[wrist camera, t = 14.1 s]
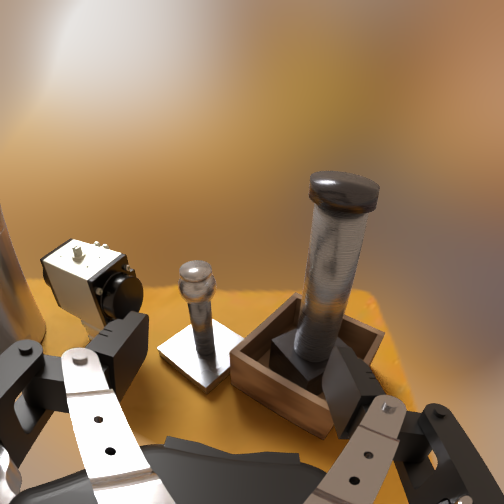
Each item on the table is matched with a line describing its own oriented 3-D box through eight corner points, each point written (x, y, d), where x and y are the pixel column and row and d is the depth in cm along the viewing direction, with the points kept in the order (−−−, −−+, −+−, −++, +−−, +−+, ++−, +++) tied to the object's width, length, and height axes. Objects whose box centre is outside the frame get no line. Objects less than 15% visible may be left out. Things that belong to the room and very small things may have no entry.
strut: (268, 366, 26) (284, 172, 17) (311, 345, 29) (343, 166, 19) (300, 405, 22) (348, 201, 13) (343, 378, 25) (403, 190, 15)
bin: (231, 383, 26) (229, 351, 23) (290, 326, 32) (295, 292, 30) (323, 440, 20) (338, 415, 18) (370, 365, 27) (385, 332, 25)
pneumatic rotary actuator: (135, 371, 26) (98, 275, 20) (66, 331, 29) (30, 246, 23) (163, 337, 30) (141, 241, 24) (93, 306, 34) (67, 223, 28)
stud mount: (159, 355, 28) (136, 271, 23) (206, 321, 33) (198, 239, 27) (206, 394, 24) (192, 310, 19) (253, 351, 29) (256, 266, 24)
